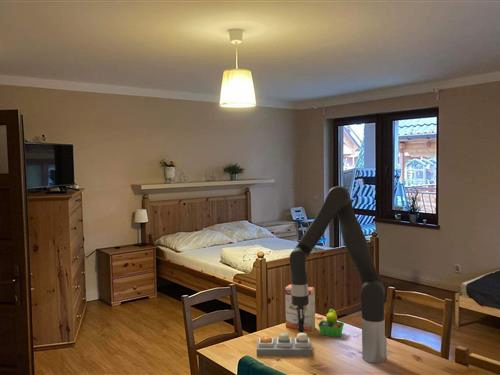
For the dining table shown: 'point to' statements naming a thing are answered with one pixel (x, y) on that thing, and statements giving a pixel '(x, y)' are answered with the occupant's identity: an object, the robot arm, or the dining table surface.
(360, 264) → the robot arm
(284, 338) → the sage button
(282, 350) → the control panel
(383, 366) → the dining table surface
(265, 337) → the orange button
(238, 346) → the dining table surface
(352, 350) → the dining table surface
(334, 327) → the fruit basket
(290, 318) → the cracker box
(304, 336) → the cream button
